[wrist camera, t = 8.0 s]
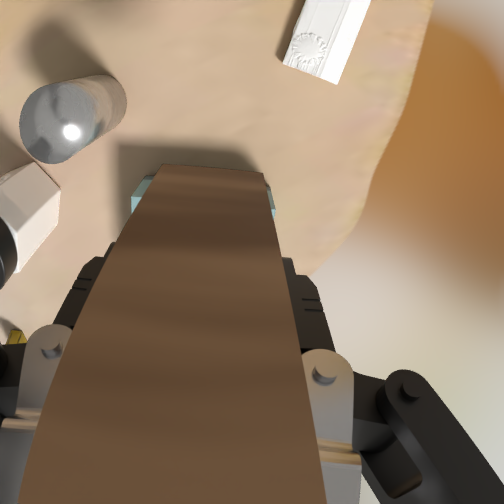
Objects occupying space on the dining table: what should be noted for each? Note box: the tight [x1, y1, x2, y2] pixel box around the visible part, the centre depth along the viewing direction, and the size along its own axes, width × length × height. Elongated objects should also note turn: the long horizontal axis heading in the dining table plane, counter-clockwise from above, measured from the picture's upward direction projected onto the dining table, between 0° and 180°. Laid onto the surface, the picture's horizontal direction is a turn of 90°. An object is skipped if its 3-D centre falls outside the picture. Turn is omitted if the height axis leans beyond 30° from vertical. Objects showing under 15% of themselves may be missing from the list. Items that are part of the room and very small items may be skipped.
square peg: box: [17, 164, 327, 504], centre depth 8 cm, size 4×4×12 cm
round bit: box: [19, 75, 127, 164], centre depth 21 cm, size 6×6×9 cm
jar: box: [0, 162, 61, 289], centre depth 24 cm, size 9×8×12 cm
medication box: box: [6, 330, 27, 344], centre depth 43 cm, size 12×3×4 cm, turn 174°
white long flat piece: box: [282, 0, 371, 85], centre depth 20 cm, size 5×15×1 cm, turn 161°
